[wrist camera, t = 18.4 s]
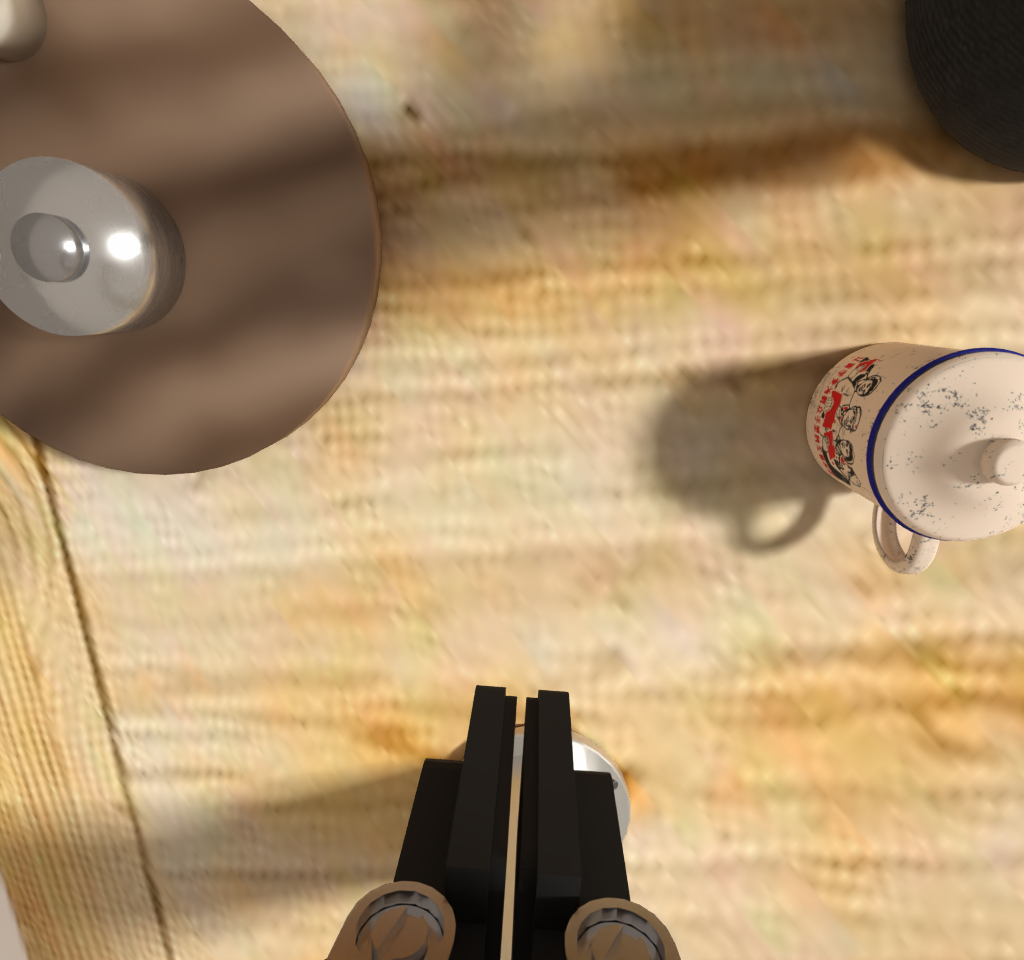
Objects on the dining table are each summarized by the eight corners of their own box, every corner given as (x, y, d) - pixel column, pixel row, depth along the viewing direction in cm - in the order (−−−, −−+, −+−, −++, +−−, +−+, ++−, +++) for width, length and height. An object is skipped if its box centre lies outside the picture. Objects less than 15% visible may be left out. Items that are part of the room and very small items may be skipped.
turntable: (459, 361, 38) (444, 372, 32) (83, 529, 41) (9, 566, 36) (232, -141, 32) (164, -238, 26) (-181, 107, 36) (-321, 70, 30)
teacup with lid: (813, 332, 38) (930, 346, 26) (976, 342, 37) (1163, 360, 26) (779, 531, 41) (869, 619, 30) (929, 541, 41) (1077, 634, 29)
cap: (216, 253, 35) (163, 245, 30) (128, 363, 37) (66, 372, 32) (92, 136, 34) (17, 109, 29) (7, 256, 35) (-77, 249, 30)
